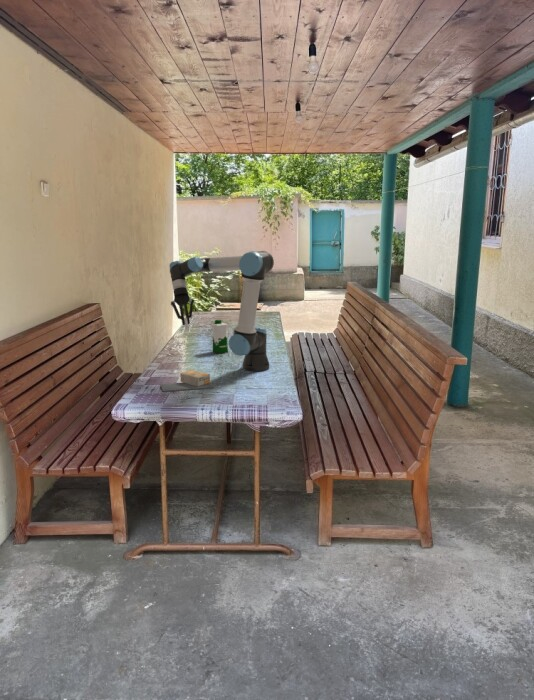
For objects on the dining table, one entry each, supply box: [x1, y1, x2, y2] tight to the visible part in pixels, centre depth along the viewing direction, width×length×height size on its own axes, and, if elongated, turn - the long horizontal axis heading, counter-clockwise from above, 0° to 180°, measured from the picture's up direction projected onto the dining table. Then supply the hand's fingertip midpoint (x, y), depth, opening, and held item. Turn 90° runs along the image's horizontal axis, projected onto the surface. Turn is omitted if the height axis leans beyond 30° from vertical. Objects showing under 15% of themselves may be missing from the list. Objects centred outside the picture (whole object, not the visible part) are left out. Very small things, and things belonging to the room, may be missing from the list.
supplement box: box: [179, 369, 211, 386], centre depth 262 cm, size 8×5×13 cm
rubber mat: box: [160, 382, 214, 393], centre depth 257 cm, size 24×12×1 cm, turn 106°
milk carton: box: [211, 319, 229, 354], centre depth 331 cm, size 9×9×20 cm
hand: (187, 330), depth 282 cm, fingers closed
